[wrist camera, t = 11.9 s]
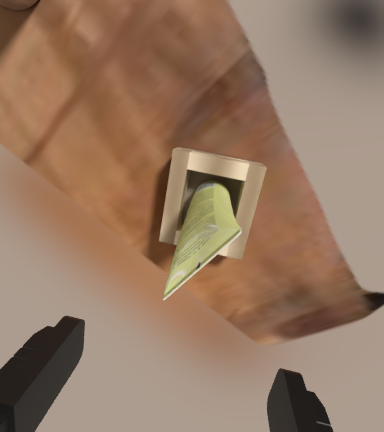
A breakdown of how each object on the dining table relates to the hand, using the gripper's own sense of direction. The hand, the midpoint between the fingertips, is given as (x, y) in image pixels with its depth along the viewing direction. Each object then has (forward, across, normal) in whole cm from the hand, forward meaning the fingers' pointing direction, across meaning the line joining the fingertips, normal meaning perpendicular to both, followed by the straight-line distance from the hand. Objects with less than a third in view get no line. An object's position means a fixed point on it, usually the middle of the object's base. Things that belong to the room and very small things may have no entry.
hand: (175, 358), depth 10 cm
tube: (+27, 0, 0) cm, 27 cm away
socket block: (+28, 0, 0) cm, 28 cm away
